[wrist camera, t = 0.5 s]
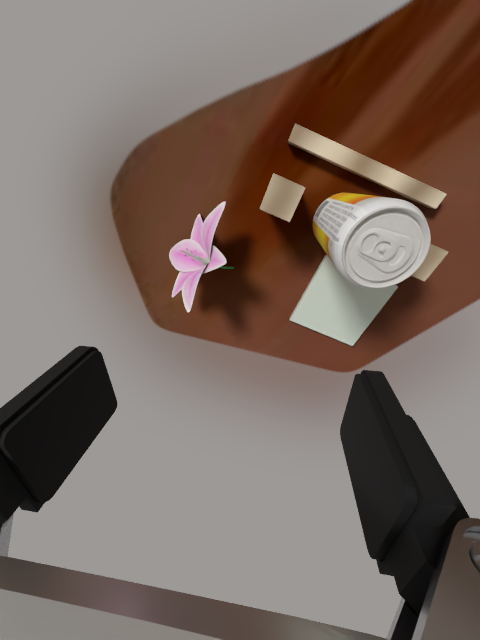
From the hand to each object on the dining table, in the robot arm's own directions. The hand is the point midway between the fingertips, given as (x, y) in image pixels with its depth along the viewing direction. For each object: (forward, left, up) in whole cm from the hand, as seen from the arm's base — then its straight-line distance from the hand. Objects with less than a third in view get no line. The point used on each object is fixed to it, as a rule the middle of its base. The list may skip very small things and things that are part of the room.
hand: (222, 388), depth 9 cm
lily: (+7, +3, -26) cm, 27 cm away
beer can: (-7, -6, -26) cm, 28 cm away
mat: (-13, +3, -26) cm, 29 cm away
